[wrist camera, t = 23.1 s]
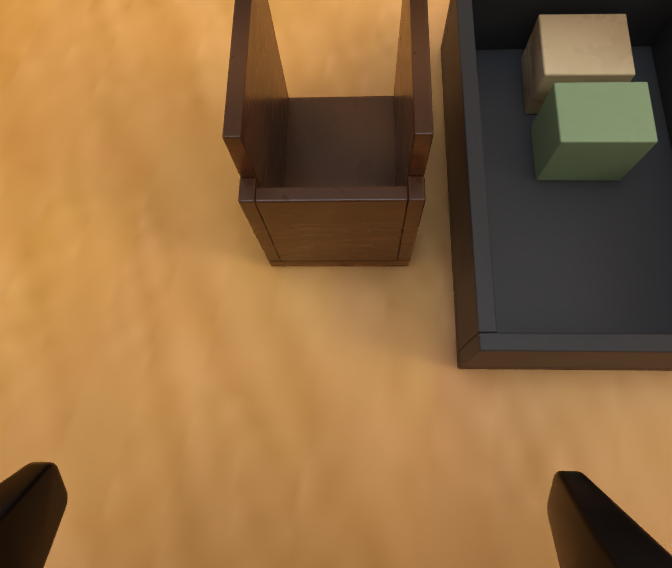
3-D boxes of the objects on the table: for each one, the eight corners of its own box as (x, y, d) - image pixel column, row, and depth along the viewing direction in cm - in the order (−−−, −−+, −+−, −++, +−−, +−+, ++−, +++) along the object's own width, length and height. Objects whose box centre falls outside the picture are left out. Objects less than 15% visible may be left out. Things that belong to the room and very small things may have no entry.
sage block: (659, 141, 22) (648, 81, 23) (560, 141, 22) (553, 81, 23) (620, 181, 25) (612, 126, 26) (535, 181, 25) (529, 127, 26)
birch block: (626, 12, 24) (598, 58, 27) (538, 13, 24) (520, 58, 27) (636, 74, 23) (606, 115, 26) (544, 74, 23) (524, 114, 26)
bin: (722, 371, 23) (808, 353, 18) (457, 369, 23) (479, 351, 19) (656, 43, 28) (711, -32, 23) (440, 48, 28) (454, -25, 24)
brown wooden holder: (408, 266, 25) (435, 163, 16) (271, 266, 25) (219, 165, 16) (404, 104, 27) (424, -64, 18) (279, 106, 28) (239, -57, 19)
